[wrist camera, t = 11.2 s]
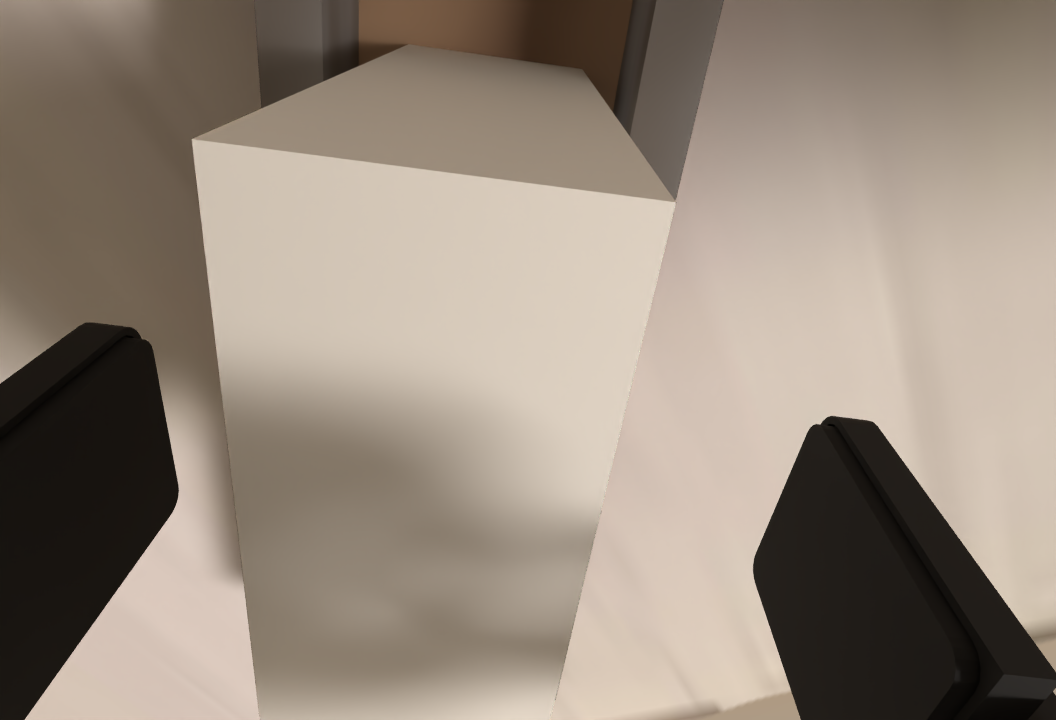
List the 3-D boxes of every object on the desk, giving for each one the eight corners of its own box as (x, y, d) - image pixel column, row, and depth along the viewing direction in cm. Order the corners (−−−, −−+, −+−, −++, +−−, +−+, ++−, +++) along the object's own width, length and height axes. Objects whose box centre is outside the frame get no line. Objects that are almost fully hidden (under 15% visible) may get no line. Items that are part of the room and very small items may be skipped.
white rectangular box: (584, 69, 15) (682, 202, 6) (528, 423, 20) (528, 820, 10) (406, 43, 15) (185, 138, 5) (393, 408, 20) (265, 803, 10)
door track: (767, -448, 12) (881, -658, 8) (550, 593, 26) (555, 701, 22) (310, -536, 12) (199, -803, 8) (335, 574, 25) (300, 680, 21)
